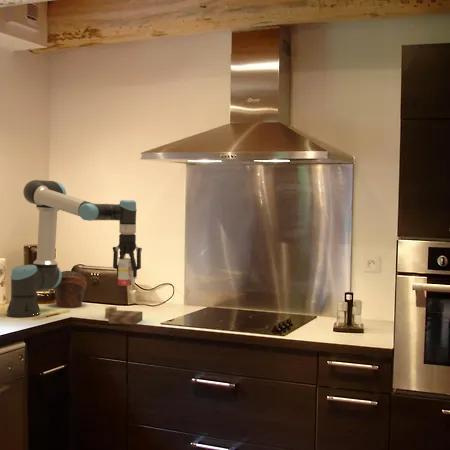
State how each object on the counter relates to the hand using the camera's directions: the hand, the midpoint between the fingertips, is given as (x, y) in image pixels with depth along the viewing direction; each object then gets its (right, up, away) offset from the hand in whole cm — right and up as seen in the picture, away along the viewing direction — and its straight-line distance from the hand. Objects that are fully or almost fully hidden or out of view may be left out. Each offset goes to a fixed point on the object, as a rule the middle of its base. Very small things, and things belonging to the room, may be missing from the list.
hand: (126, 284), depth 288 cm
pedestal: (0, -17, 0) cm, 17 cm away
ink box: (0, 0, 0) cm, 0 cm away
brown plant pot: (-37, -16, +42) cm, 58 cm away
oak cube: (-9, -17, +10) cm, 21 cm away
